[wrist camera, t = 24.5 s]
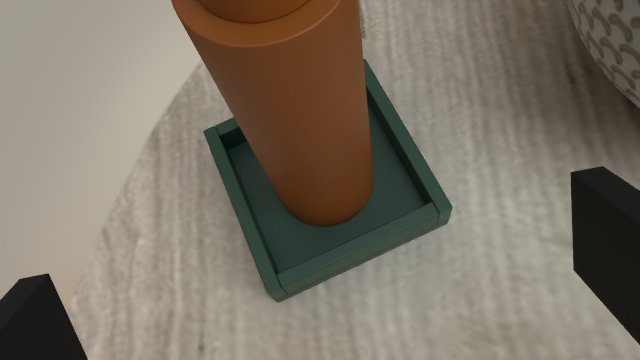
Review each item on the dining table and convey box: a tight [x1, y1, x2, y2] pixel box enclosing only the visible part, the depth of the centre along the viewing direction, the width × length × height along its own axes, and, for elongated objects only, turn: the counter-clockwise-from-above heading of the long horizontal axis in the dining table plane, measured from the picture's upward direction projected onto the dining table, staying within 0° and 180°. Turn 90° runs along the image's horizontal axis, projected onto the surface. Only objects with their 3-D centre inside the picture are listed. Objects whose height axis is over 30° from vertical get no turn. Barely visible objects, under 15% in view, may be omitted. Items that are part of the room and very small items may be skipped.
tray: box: [204, 59, 452, 302], centre depth 24 cm, size 8×8×2 cm
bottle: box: [171, 0, 374, 226], centre depth 17 cm, size 4×4×16 cm
